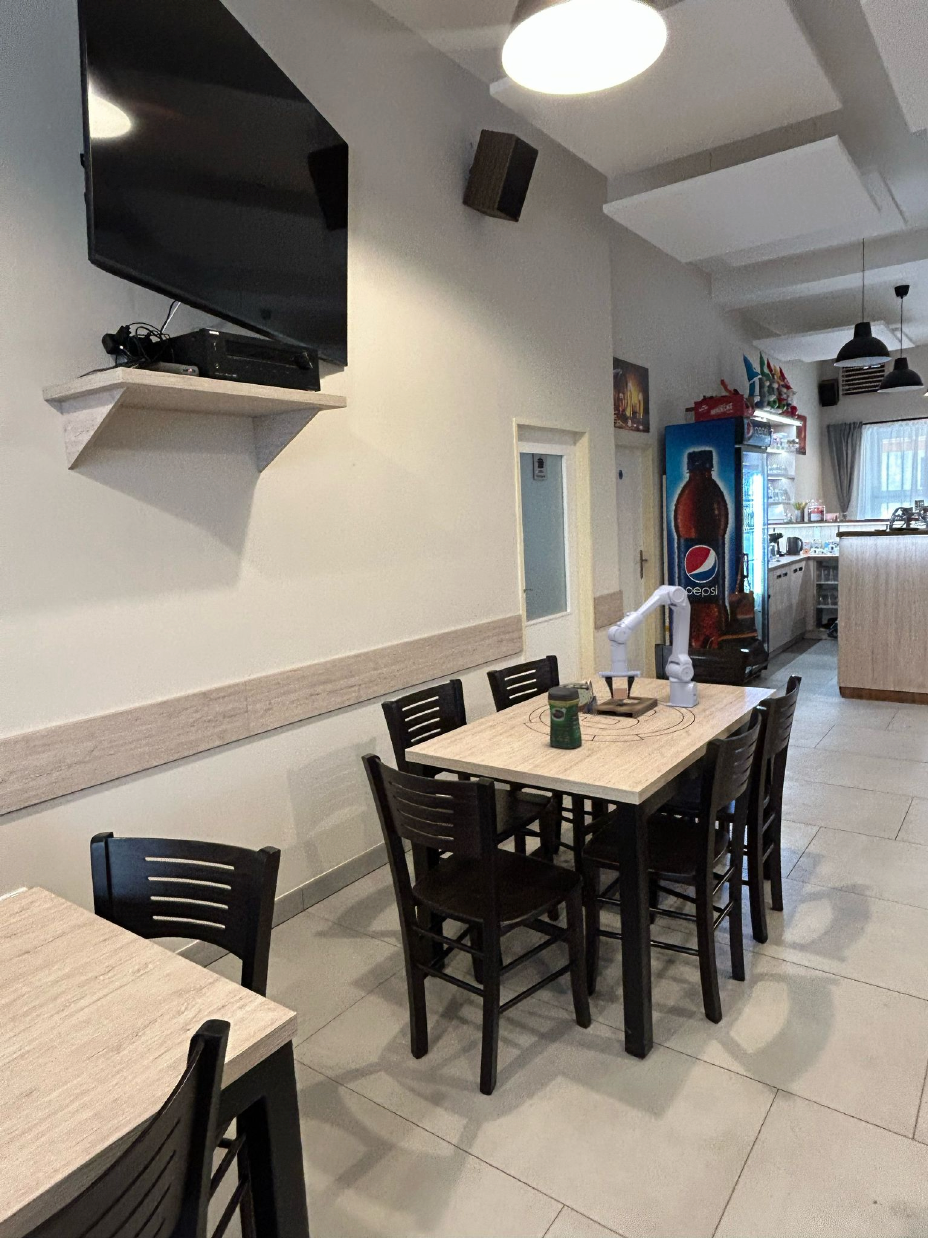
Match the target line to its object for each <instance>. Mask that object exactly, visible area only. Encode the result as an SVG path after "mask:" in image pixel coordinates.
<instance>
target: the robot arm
mask: <svg viewBox="0 0 928 1238" xmlns="http://www.w3.org/2000/svg"><path fill="white" fill-rule="evenodd" d="M663 605H664V606H665V605H667V606H668V607H669V608H670V609H672V611H674V619H673V637H672V653H671V654H670V656H669V657H668V659H667V660H668V661H667V664H666V666H665V673H666V675H667V677H668V680H669V701H670V702H668V703H667V704H666V706H668V707H680V708H693V707H694V706H696V705H698V704H699V700H698V697H699V696H698V695H699V694H698V685H697V682H696V681H691V679H692V678H693V676H694V672H695V671H694V667H693V661H692V659H691V658H690V656H689V639H690V624H691V623H690V622H691V619H690V618H691V604H690V601H689V598H688V592H687V591H686V590H685V589H684V588H683V587H682V586H679V585H678V586H677V585H667V584H663V585H660V586H659V587H658V589H655V590H654V592H653V594H652V595H651V596H650V597H649V598H648V599H647V600H646V601H645V602H644V603H643V604H642V605H641V606H640V607H639V608H638V609H637V610H636V611H630V612H627V613H626V616H625V617H624V618H623V619H621V620H620V621H618V622H616V625H614V626H611V627H610V628H609V629H608V631H607V633H606V637H607V639H608V641H609V645H610V666H611V667H610V671H609V670H608V671H599V672H598V678H599V679H603V678H604V681H605V683H606V685H607V688H608V689H609V693H610V699H611V698H613V697H614V687H613V686H614V685H613V684H614V683H613V679H614V678H627V679H626V680H627V696H628V698H630V696H631V692H632V688H633V684H634V682H635V680H636V678H641V676H642V675H641V670H629V669H628V668H629V667H628V647H627V642H628V641H629V639H630V637H631V634H633V633H634V632H635V631H636V630H638V628H639V627H640V626H641V625H642V624H644V623H643V622H644V618H646V617H647V616H648V615H649V614H650V613H652V612H653V611H654V610H655V609H657V608H658V607H660V606H663Z"/></svg>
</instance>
